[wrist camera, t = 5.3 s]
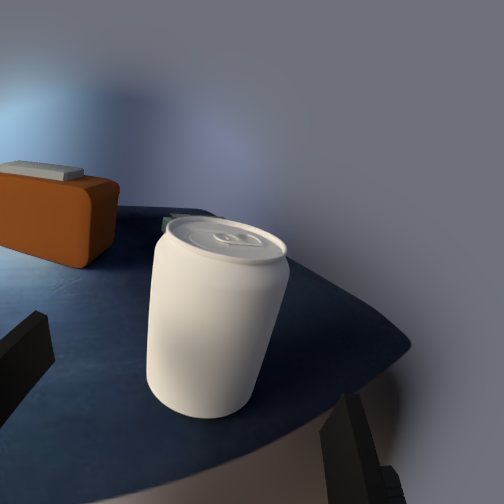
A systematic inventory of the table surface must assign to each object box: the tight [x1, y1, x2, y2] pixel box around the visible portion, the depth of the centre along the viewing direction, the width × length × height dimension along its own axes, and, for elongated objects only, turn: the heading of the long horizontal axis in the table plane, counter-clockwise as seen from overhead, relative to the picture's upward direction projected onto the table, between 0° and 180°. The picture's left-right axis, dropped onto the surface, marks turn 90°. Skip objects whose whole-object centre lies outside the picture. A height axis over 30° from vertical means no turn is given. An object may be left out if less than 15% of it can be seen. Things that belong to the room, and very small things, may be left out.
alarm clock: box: [0, 161, 118, 268], centre depth 33 cm, size 24×8×11 cm, turn 91°
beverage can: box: [147, 216, 289, 418], centre depth 19 cm, size 8×8×12 cm
